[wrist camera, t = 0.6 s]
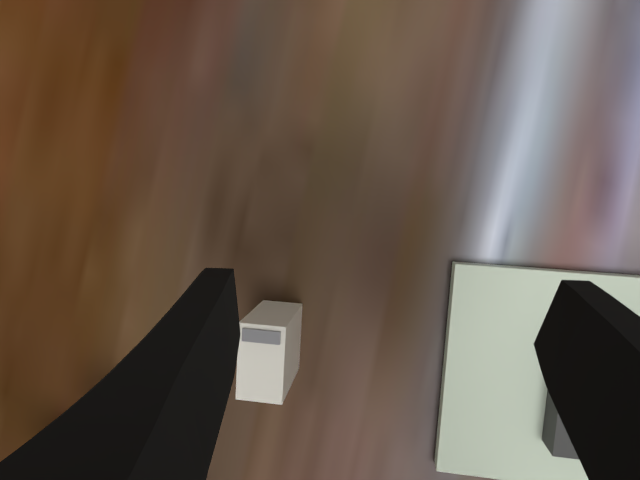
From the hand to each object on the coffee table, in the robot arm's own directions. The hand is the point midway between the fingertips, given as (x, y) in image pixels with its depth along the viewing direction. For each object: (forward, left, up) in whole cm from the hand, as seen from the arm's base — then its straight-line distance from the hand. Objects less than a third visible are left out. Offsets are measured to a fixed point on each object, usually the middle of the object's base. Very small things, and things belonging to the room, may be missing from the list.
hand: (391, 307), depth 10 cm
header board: (-9, -15, -22) cm, 28 cm away
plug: (-8, +7, -22) cm, 25 cm away
